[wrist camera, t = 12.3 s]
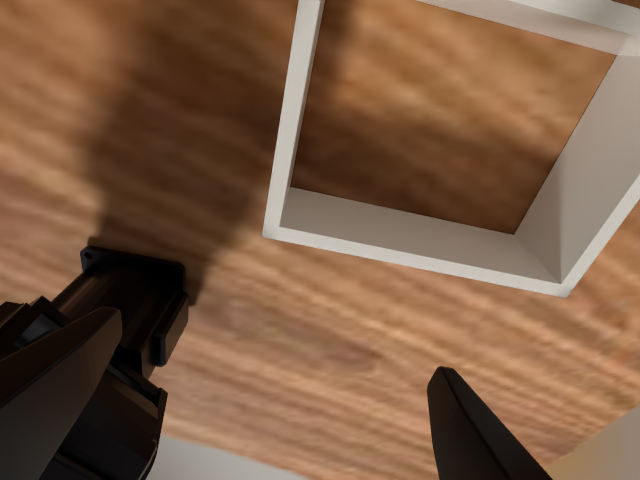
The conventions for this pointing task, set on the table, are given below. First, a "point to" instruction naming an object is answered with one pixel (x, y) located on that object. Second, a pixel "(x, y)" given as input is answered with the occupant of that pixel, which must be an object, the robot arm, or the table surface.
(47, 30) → the table surface
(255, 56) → the table surface
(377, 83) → the table surface
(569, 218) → the grey rectangular frame
